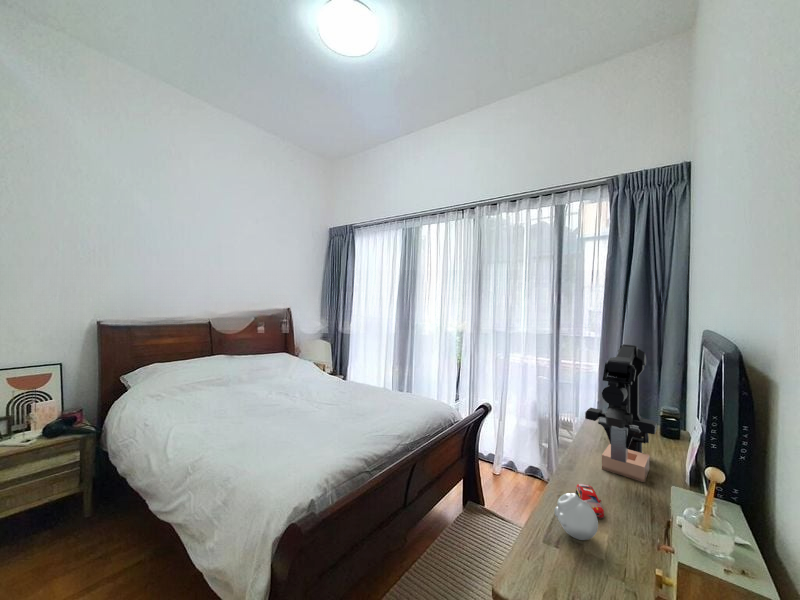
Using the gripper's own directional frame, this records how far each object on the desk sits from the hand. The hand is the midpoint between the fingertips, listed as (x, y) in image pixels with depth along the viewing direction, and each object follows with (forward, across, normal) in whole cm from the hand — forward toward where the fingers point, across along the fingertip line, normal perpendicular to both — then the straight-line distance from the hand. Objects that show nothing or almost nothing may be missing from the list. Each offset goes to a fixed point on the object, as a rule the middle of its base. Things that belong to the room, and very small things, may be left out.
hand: (619, 446), depth 103 cm
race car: (+12, -4, -21) cm, 24 cm away
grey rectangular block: (+4, 0, 0) cm, 4 cm away
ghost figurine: (+12, -3, -37) cm, 39 cm away
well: (+12, 0, +11) cm, 16 cm away
